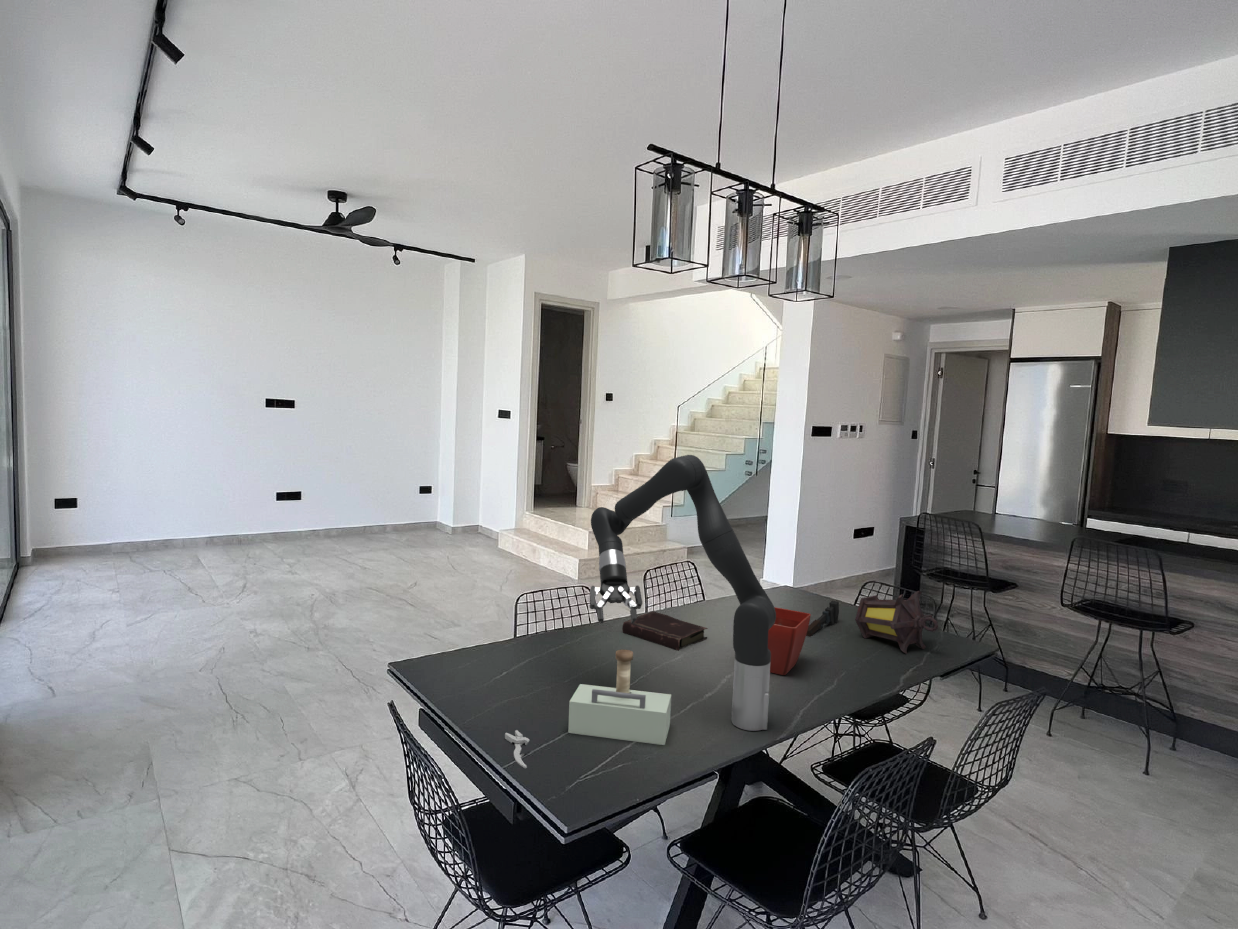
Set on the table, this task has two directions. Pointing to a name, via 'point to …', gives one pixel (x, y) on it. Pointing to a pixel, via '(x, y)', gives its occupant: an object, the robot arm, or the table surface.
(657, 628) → the diary
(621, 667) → the beige long cylinder
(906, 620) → the lantern
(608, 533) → the robot arm
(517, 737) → the pliers
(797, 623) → the plant pot
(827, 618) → the dark stepped piece
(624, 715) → the toolbox
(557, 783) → the table surface
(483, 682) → the table surface
